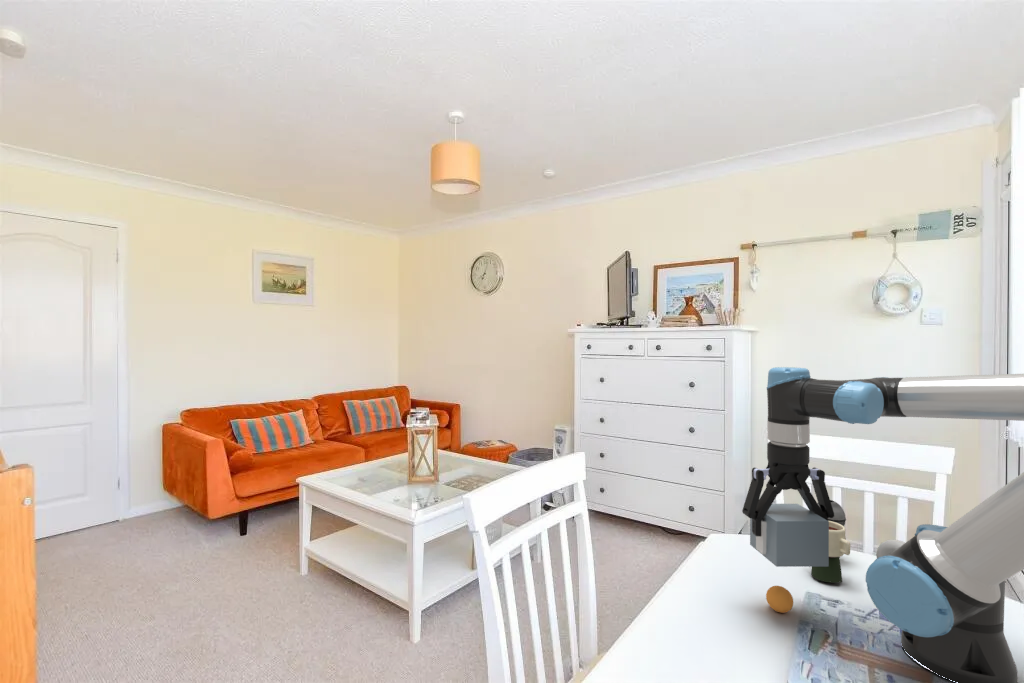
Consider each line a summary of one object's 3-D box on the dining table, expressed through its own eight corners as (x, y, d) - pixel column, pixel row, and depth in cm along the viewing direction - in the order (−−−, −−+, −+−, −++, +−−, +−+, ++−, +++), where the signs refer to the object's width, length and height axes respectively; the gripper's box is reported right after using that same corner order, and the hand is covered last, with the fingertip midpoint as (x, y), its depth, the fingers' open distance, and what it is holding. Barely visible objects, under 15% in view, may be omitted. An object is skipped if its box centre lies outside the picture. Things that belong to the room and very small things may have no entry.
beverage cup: (844, 570, 119) (846, 489, 119) (809, 561, 124) (811, 483, 123) (846, 559, 125) (847, 482, 125) (812, 551, 129) (814, 477, 129)
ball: (796, 586, 101) (788, 599, 104) (770, 577, 103) (762, 590, 105) (797, 608, 97) (789, 621, 100) (770, 598, 99) (763, 611, 102)
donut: (928, 593, 109) (929, 549, 109) (917, 595, 108) (918, 551, 108) (882, 572, 119) (883, 531, 118) (872, 574, 117) (873, 533, 117)
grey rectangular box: (797, 544, 104) (797, 503, 104) (828, 566, 94) (828, 521, 94) (750, 544, 104) (750, 503, 104) (776, 566, 94) (776, 521, 94)
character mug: (860, 588, 111) (861, 532, 111) (837, 593, 108) (838, 535, 108) (816, 566, 121) (817, 514, 121) (794, 570, 119) (795, 518, 119)
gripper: (831, 439, 103) (830, 543, 103) (724, 439, 103) (724, 543, 103) (856, 446, 96) (856, 559, 96) (741, 446, 95) (741, 559, 95)
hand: (787, 551), depth 99 cm, fingers closed on grey rectangular box, 10 cm apart
